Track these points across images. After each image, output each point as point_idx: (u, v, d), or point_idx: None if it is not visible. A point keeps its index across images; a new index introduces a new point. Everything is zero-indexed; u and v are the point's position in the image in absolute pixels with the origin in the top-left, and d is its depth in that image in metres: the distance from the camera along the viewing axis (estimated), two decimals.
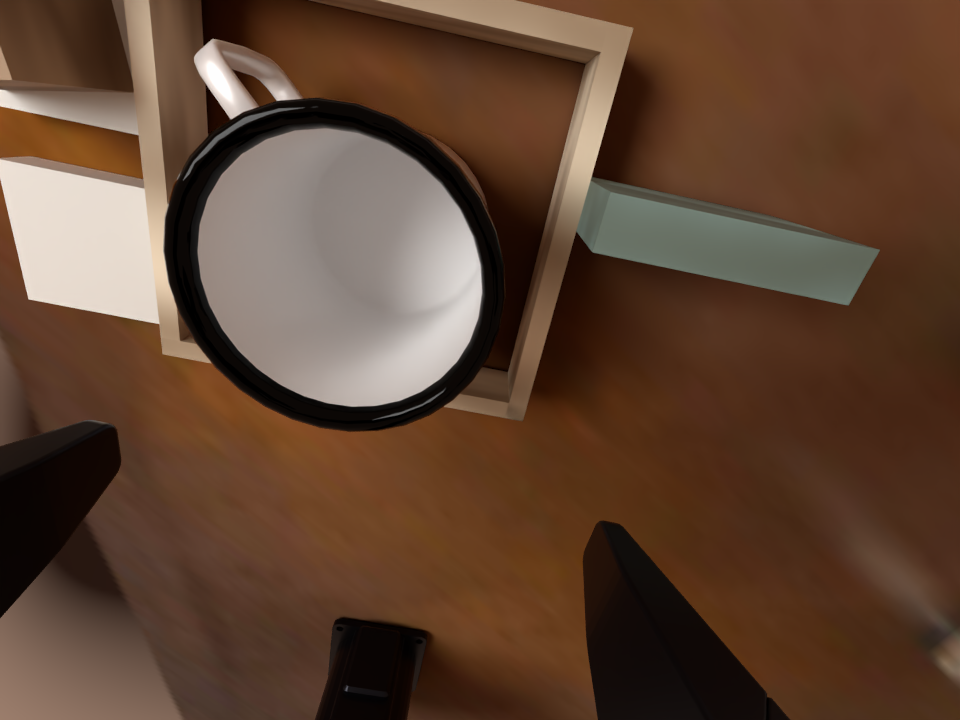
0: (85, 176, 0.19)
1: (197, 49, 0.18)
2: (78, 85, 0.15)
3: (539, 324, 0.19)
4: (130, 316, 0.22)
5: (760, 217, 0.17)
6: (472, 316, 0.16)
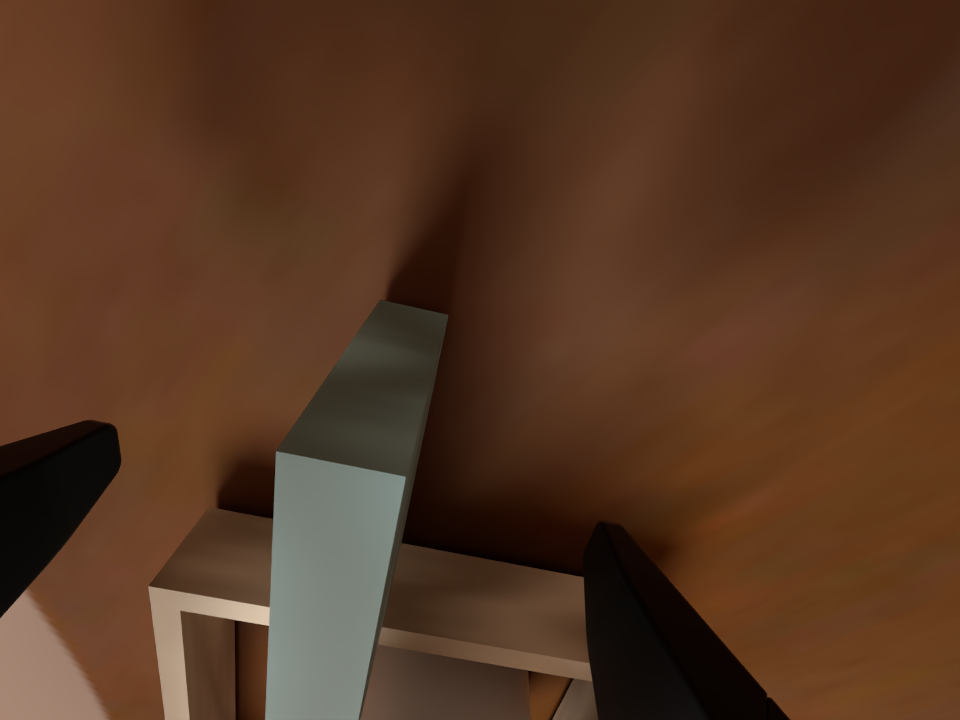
0: None
1: None
2: None
3: (513, 659, 0.14)
4: None
5: None
6: None
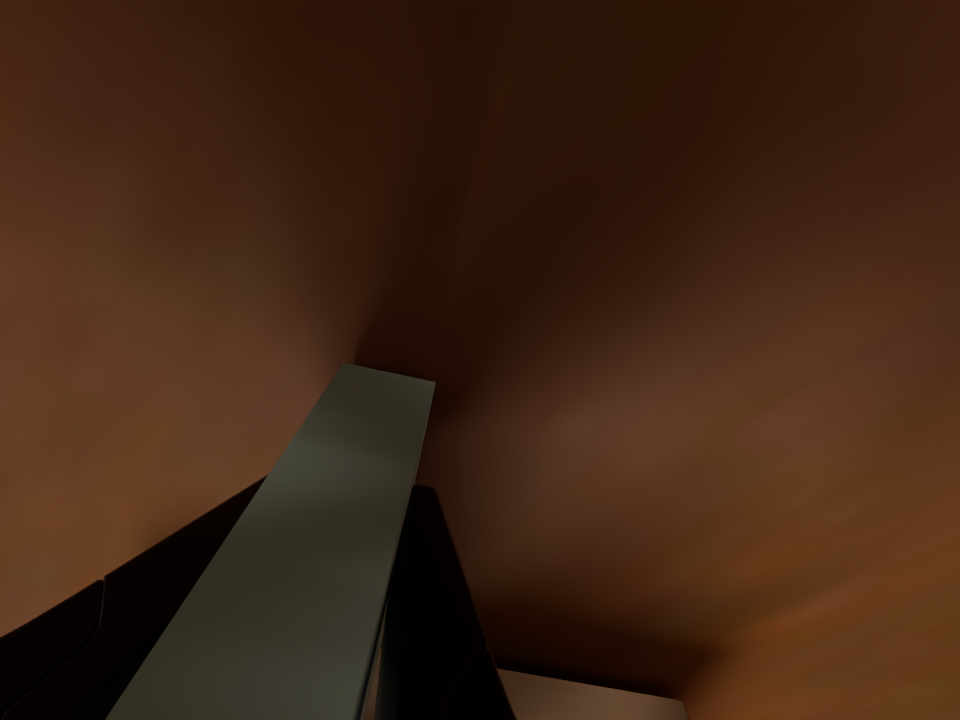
0: None
1: None
2: None
3: None
4: None
5: None
6: None
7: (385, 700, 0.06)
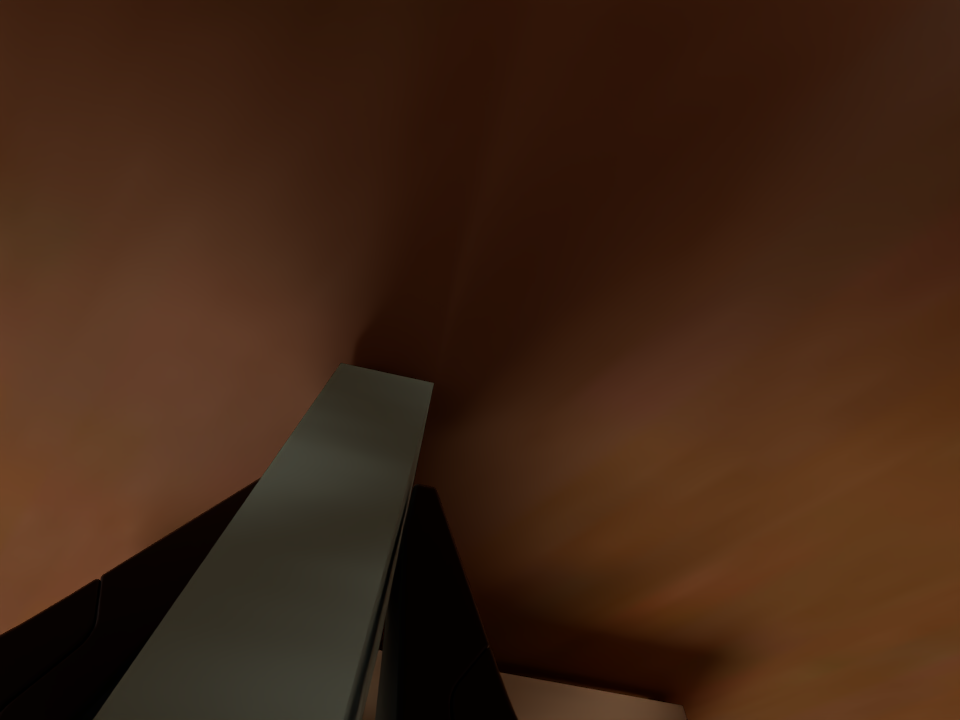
0: None
1: None
2: None
3: None
4: None
5: None
6: None
7: (386, 700, 0.06)
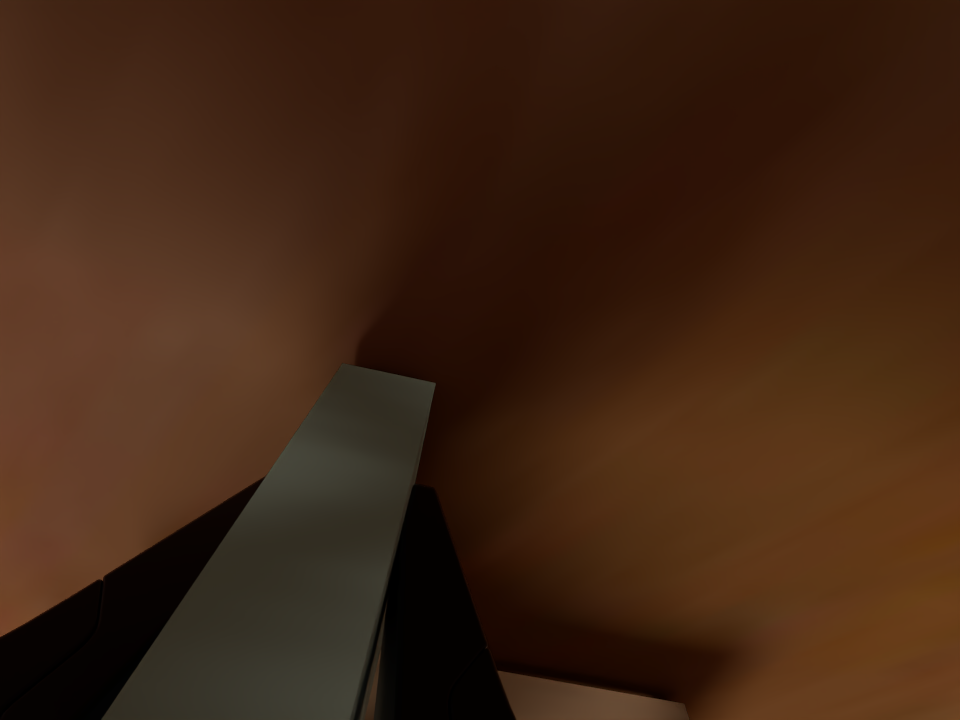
0: None
1: None
2: None
3: None
4: None
5: None
6: None
7: (385, 700, 0.06)
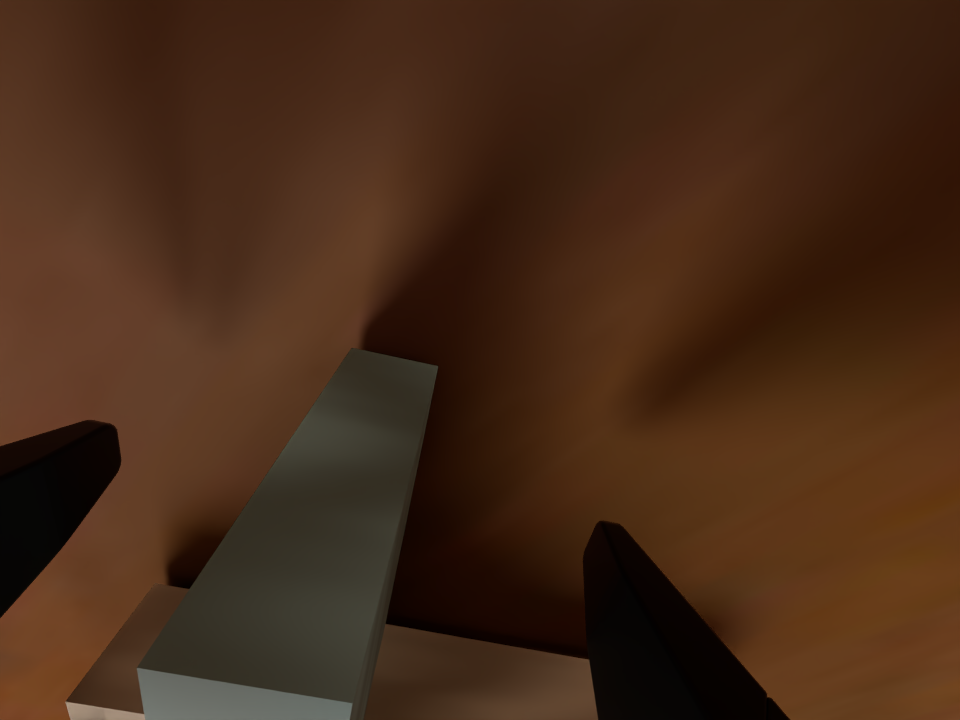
0: None
1: None
2: None
3: None
4: None
5: None
6: None
7: None
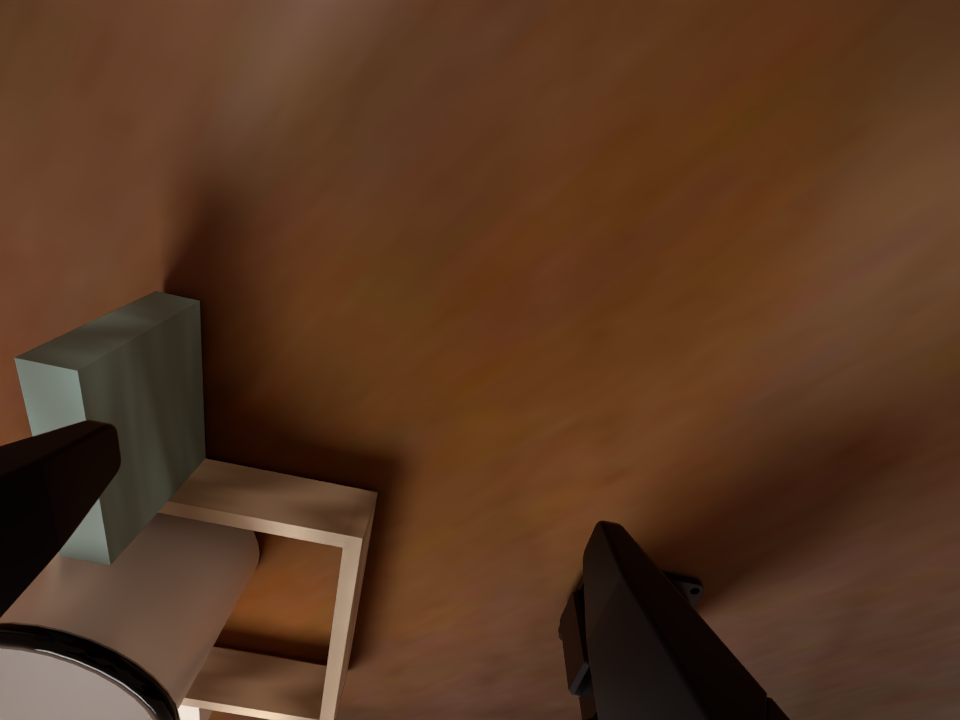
0: None
1: None
2: None
3: (257, 525, 0.21)
4: None
5: None
6: (88, 584, 0.19)
7: None
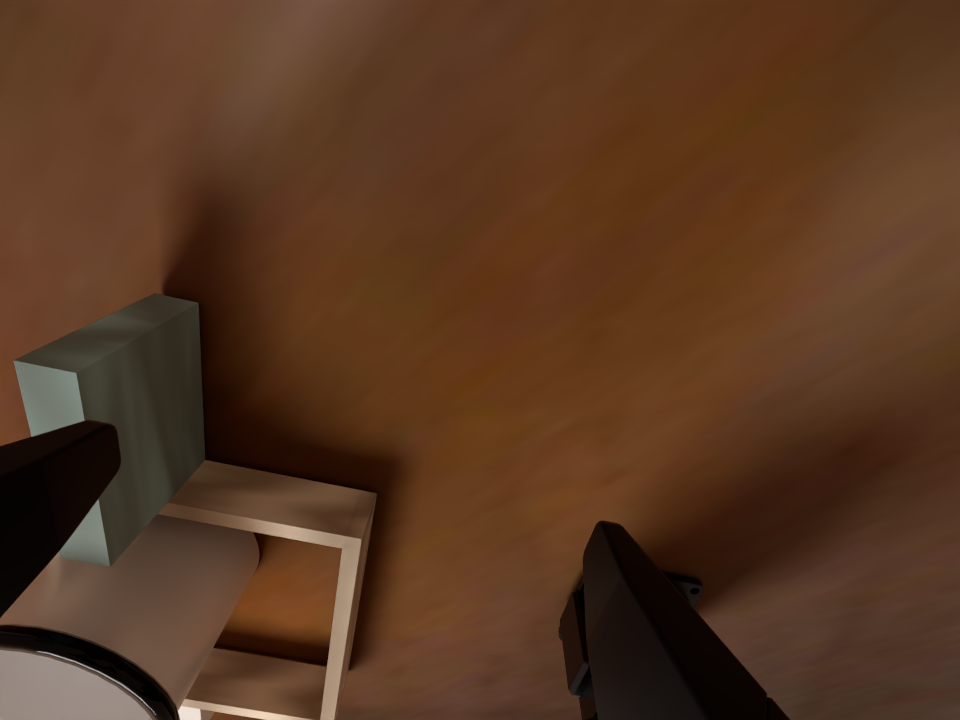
0: None
1: None
2: None
3: (256, 526, 0.21)
4: None
5: None
6: (88, 586, 0.19)
7: None
